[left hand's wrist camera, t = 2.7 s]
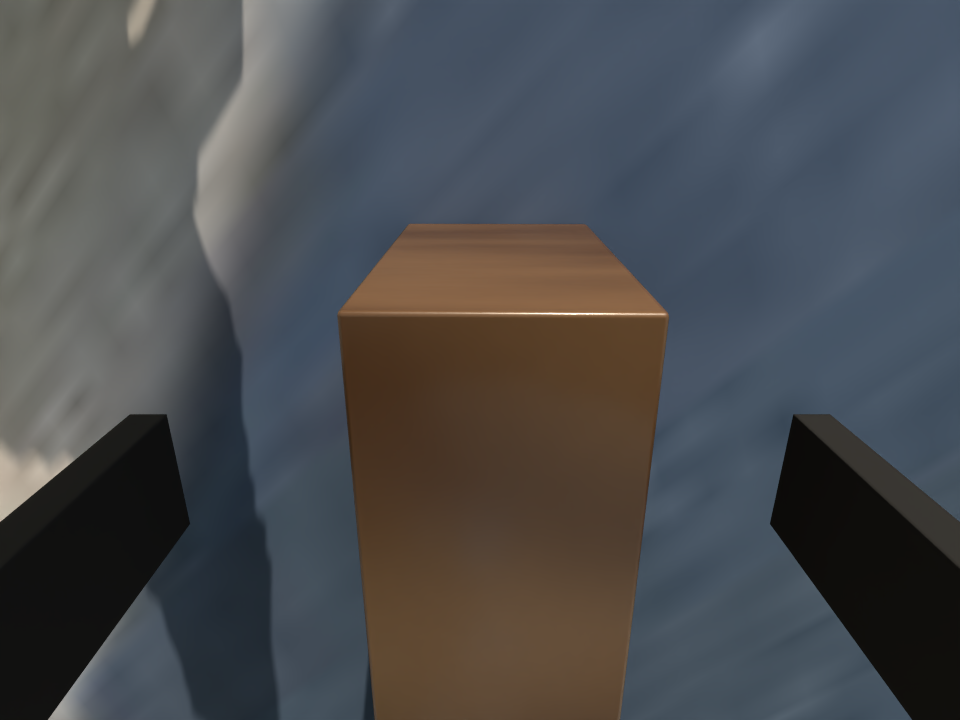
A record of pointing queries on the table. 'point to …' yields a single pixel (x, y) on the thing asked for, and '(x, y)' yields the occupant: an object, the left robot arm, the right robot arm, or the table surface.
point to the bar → (500, 468)
